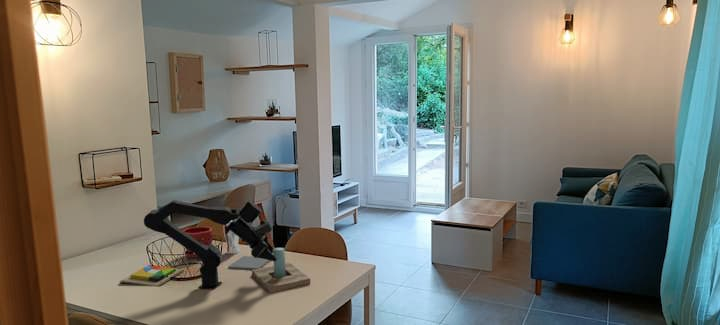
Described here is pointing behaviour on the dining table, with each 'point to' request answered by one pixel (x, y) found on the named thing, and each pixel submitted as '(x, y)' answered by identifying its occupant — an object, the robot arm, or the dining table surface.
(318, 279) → the dining table surface
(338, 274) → the dining table surface
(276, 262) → the pale teal peg
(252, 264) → the slate tile
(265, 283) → the walnut puzzle board
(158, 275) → the wooden puzzle
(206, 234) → the plant pot
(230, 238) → the white can
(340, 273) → the dining table surface
